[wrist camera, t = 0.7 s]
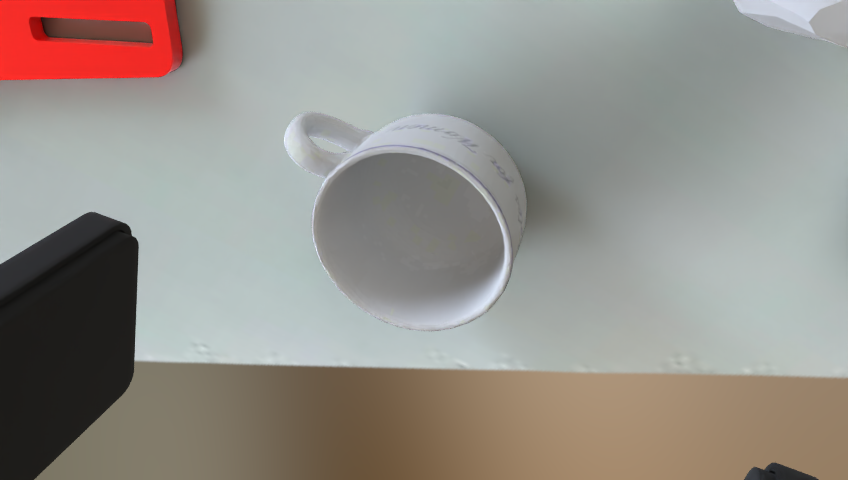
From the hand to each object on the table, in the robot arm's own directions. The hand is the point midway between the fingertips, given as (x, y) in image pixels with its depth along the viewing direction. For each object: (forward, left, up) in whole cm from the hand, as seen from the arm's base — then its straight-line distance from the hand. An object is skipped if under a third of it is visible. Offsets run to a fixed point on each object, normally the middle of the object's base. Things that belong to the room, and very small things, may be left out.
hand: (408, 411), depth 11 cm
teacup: (+11, -7, -33) cm, 35 cm away
